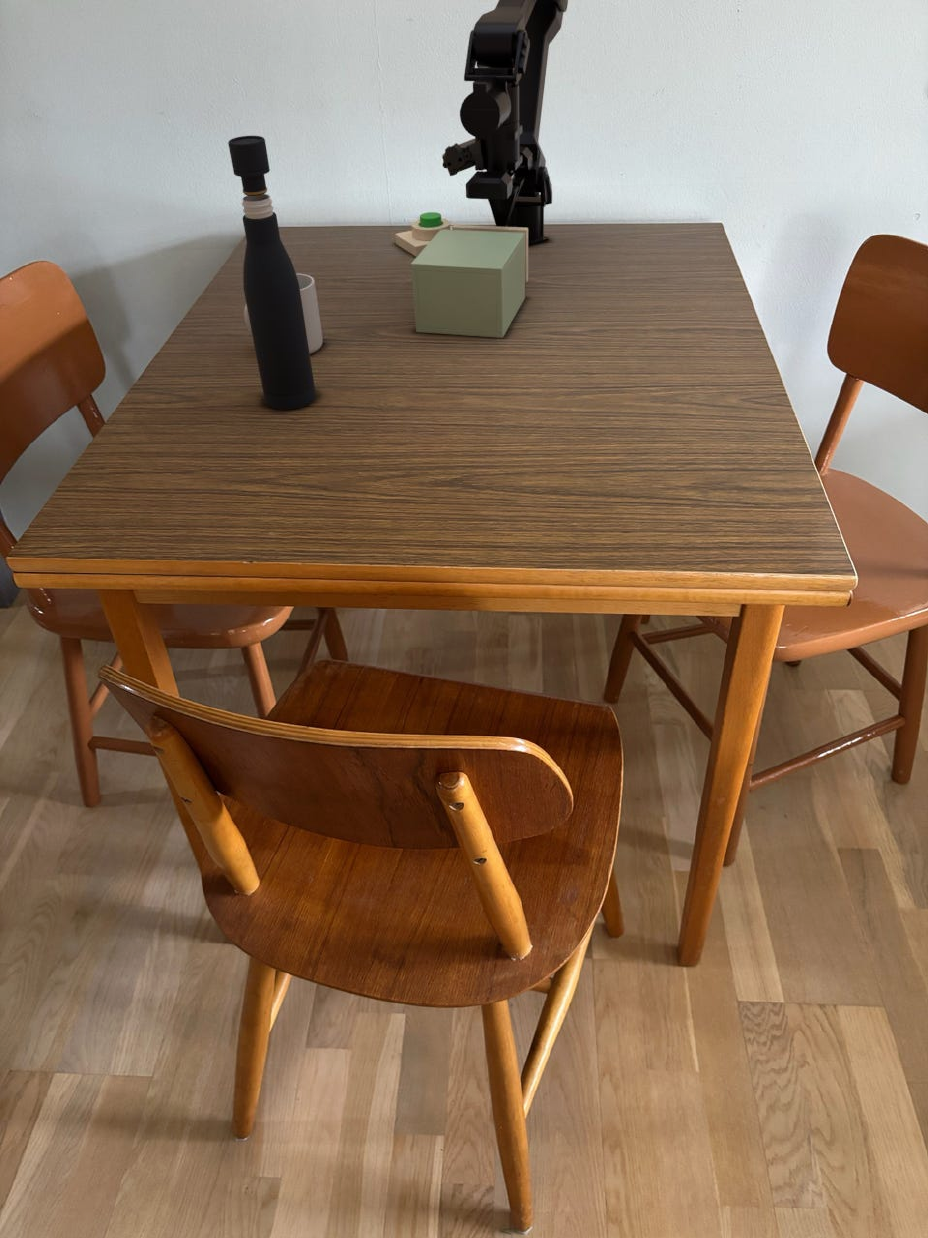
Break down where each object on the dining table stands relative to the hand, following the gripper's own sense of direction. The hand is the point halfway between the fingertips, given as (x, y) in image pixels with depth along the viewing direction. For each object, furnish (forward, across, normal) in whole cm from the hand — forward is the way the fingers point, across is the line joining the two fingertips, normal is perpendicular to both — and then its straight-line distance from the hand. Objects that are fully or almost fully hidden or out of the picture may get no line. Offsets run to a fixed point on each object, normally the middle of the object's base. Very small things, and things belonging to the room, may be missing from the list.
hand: (501, 230), depth 149 cm
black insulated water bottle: (+6, +49, -16) cm, 52 cm away
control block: (+6, -10, -15) cm, 18 cm away
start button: (+3, -10, -15) cm, 18 cm away
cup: (+6, +35, -22) cm, 42 cm away
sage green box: (+6, +19, 0) cm, 20 cm away
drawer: (+5, +11, 0) cm, 12 cm away
